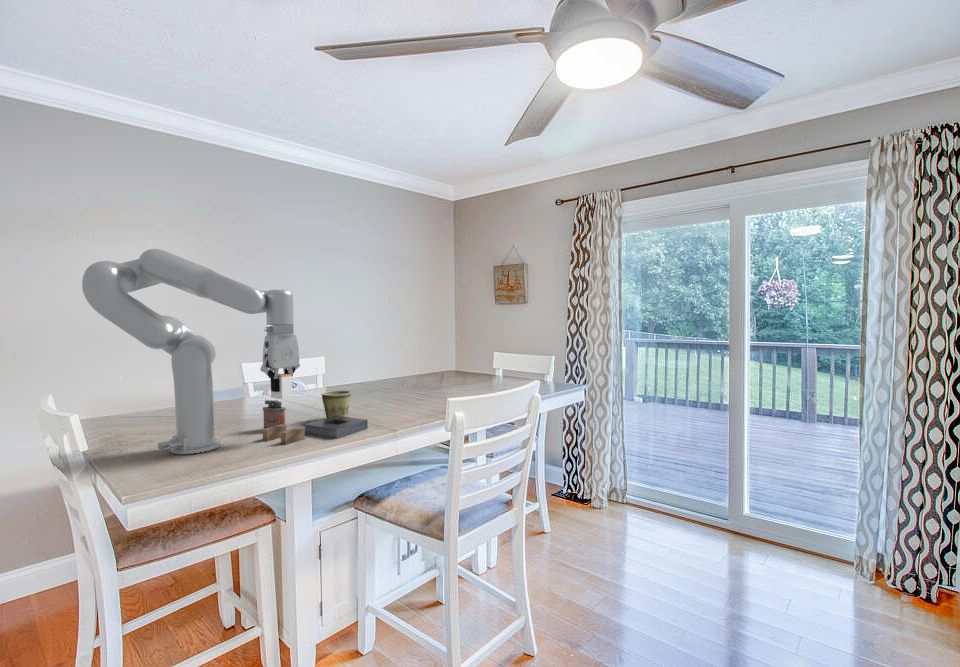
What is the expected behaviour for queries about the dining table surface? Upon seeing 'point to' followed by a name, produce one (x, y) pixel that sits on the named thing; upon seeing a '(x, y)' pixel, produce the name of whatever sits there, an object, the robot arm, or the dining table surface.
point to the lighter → (273, 413)
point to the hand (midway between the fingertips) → (281, 389)
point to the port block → (336, 426)
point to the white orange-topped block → (283, 387)
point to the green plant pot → (336, 403)
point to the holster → (283, 434)
